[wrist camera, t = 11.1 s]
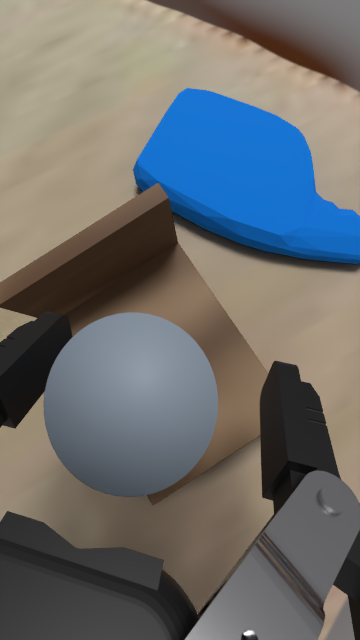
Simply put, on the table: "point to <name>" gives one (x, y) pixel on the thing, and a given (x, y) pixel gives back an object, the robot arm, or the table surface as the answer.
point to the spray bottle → (245, 179)
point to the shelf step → (147, 306)
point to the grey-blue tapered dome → (130, 404)
